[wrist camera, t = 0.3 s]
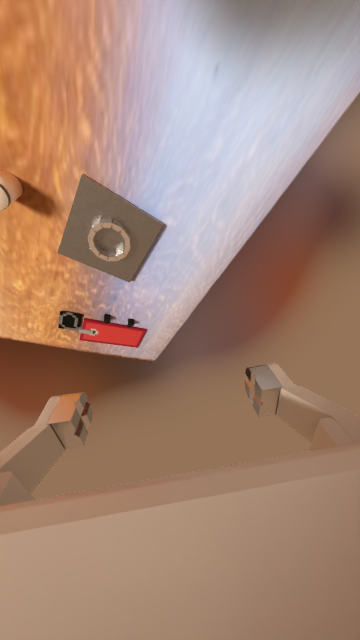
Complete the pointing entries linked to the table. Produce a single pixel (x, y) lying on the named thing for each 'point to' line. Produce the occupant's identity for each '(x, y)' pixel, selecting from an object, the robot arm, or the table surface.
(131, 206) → the ring mount
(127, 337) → the red board with handle
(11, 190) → the banded peg cylinder
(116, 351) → the table surface
